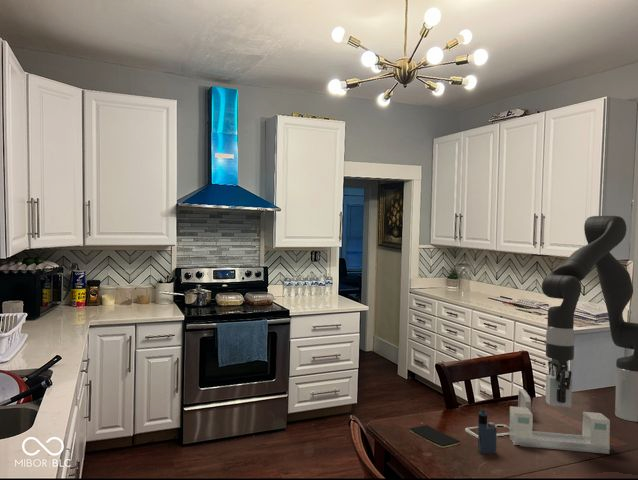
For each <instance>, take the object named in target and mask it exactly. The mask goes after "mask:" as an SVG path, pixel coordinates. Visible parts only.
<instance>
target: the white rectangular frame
mask: <svg viewBox="0 0 638 480" xmlns="http://www.w3.org/2000/svg"><path fill="white" fill-rule="evenodd" d="M497 426H504V427H503V428H505V427H506V428H508V429H509V427H510V426H508V425H507V424H505V423H500V424H499V423H498V424H495V427H496V428H498V427H497ZM474 429H478V426H471V427H466V428H465V429H464V431H465V432H466V433H468V434H469V435H470V436H472V435H473V437H474V436H475V437H474V438H476V439H477V438H478V433H477V434H476V433H475V432H473V431H472V430H474ZM504 435H509V432H503V433H502V432H501V433H497V436H504ZM504 437H505V436H504Z"/></svg>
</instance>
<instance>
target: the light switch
mask: <svg viewBox="0 0 638 480" xmlns="http://www.w3.org/2000/svg"><path fill="white" fill-rule="evenodd" d="M517 397H518V398H517V401H518V402H517V407H526V408H528V409H529V410H530V412H531V411H532V406H531V405H532V401H531V397H530V395H529V394H528V392H527V391H526V389H524V388H519V389H518V396H517ZM531 413H532V412H531Z"/></svg>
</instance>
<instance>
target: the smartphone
mask: <svg viewBox="0 0 638 480" xmlns="http://www.w3.org/2000/svg"><path fill="white" fill-rule="evenodd" d="M410 432H411V433H412V434H415V435H416V436H418V437H420V438H422V439H424V440H425V441H427V442H429V443H431V444H433V445H435V446H436V447H438V448H442V449H444V448H450V447H454V446H457V445H460V444H461V441H460V440H459V439H456V438H455V437H452V436H451V435H448V434H446V433H444V432H442V431H440V430H438V429H435V428H434V427H431V426H430V425H428V424H425V425H419V426H415V427H410V428H409V433H410Z"/></svg>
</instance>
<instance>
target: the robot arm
mask: <svg viewBox="0 0 638 480" xmlns="http://www.w3.org/2000/svg"><path fill="white" fill-rule="evenodd" d="M583 228H584V229H583V231H584V236H585V239H586V242H587V244H586V245H584V246H582V247H579V248H578V249H577V250H575V251H574V252H572V254H571V255H570V256H569V257H568V258H567V260H565V262H564V263H563V264H562V265H560V266H558V267H557V268H555V269H553V270H552V271H550V272H549V273H548V274H547V275H545V277H544V278H543V281H542V282H541V291H542V292H543V294H544V295H545V296H546V297H548V298H550V299H551V298H552V299H559V300H562V301H561V304H560V305H555V306H551V307H549V308H548V310H547V323H546V324H547V326H546V333H545V337H546V338H545V356H546V357H547V358H548V359H551V360H548V361H547V364H548V365H547V367H548V375H552V376H554V375H555V381H557V401H558V402H559V403H565V402H566V390H569V388H570V381H571V379H572V375H573V374H572V370H570V369H569V365H568V361H573V360H574V358H575V331H574V322H575V317H574V316H575V312H576V308H577V305H578V301H579V299H580V296H581V293H582V284H581V282H582V281H583V280H584V279H585V278H586V277H587V275H588V274H589V273H590V272H591V270H592V269H593V267H596V271H597V276H598V279H599V285H600V288H601V292H602V296H603V299H604V303H605V307H606V311H607V316H608V325H609V331H610V336H611V340H612V342H613V344H614V345H615V346H617V347H618V348H623V349H629V350H633V354H632V355H630V356H629V355H628V356H624V357H623V356H622V357H618V358H617V359H616V363H615V364H616V365H615V367H616V368H615V402H614V403H615V405H614V406H615V407H614V414H615V416H616V417H617V418H619V419H622V420H623V421H624V420H625V421H629V422H634V423H638V323H637V322H629V321H625V319H624V316H623V315H624V314H623V313H624V310H625V309H626V306H627V305H628V304H629V303H630V301H631V300H632V299H631V298H632V297H633V295H634V287H633V282H632V278H631V275H630V272H629V271H628V270H627V269H626V267H625V266H624V265H623V264H622V263H621V262H620V261H619V260H617V258H615V256H614V255H613V254H612V253H611V251H612V250H614V249H615V248H616V247H618V245H620V243H621V242H622V241H623V240H624V239H625V237H626V235H627V224H626V221H625V219H624V218H623V217H621V216H619V215H592V216H589V217H588V218H586V219H585V222H584V225H583ZM558 377H560V379H559V378H558ZM563 383H564V385H563Z"/></svg>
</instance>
